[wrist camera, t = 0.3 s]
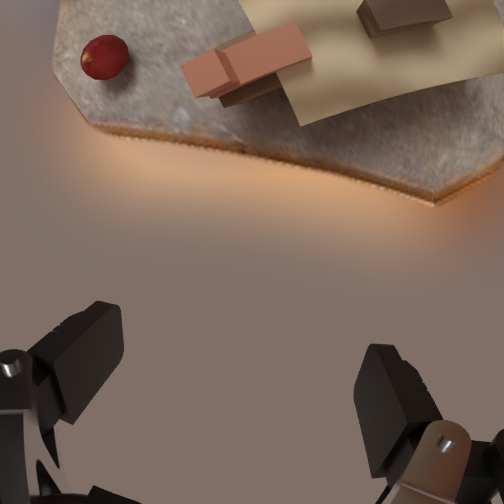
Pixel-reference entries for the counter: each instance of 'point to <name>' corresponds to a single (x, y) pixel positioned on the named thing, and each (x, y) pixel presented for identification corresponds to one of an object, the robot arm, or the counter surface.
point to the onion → (104, 57)
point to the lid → (380, 48)
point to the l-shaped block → (246, 61)
